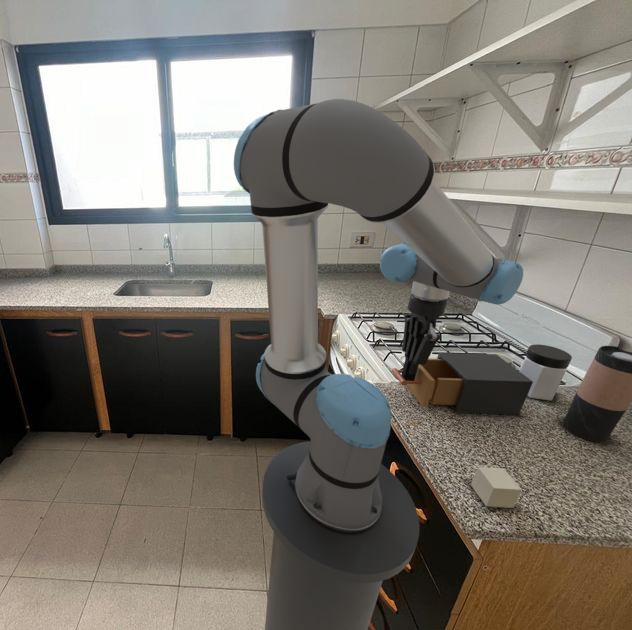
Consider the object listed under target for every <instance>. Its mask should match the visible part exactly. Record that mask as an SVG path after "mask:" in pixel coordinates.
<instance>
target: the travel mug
mask: <svg viewBox="0 0 632 630" xmlns="http://www.w3.org/2000/svg"><path fill="white" fill-rule="evenodd" d="M631 403H632V351H627V350H624V349H622V348H620V347H619V346H615V345H602V346H600V347H599V348H598V349H597V351H596V354H595V355H594V357H593V359H592V360H591V363H590V365H589V367H588V369H587V371H586V373H585V375H584V377H583V378H582V380H581V382H580V384H579V386H578V388H577V390H576V391H575V394H574V396H573V399H572V401H571V404H570V406H569V407H568V410H567V412H566V414H565V417H564V418H563V422H562V424H563V427H564V428H565V429H566V430H567V431H568V432H570V433H572V434H573V435H575V436H577V437H579V438H582V439H584V440H587V441H591V442H596V443H603V442H605V441H607V440H608V439H609V437H610V436H611V434H612V433H613V431H614V429H616V427H617V425H618V424H619V422H620V420H621V419H622V417H623V416H624V414H625V413H626V412H627V410H628V409H629V407H630V405H631Z"/></svg>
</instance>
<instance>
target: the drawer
mask: <svg viewBox="0 0 632 630" xmlns="http://www.w3.org/2000/svg"><path fill="white" fill-rule="evenodd" d="M402 371H403V369H397V368H396V367H393V368H392V369H391V372H392V374H393V375H394V377H395V378H396V379H397V381H398V382H399V384H400V385H401V386H403V387H404V386H406V387H407V388H408V390H409V391H410V392H411V393H412V395H413V396H414V398H415V399H416V400H417V402H418V403H419V404H420V405H421V407H428V405H429V403H430V404H431V405H441V406H443V405H444V406H450V405H456V403H457V400H458V397H459V394H460V391H461V388H462V385H463V382H464V380H463V379H462V378H461V377H460V376H459V375H458V374H457V373H456V372H455V371H454V370H453V369H452V368H451V367H450V366H449V365H448V364H447V363H446V362H445V361H443V360H442V359H437V358H428V360H427V362H426V364H425V365H419V366H418V369H417V373H416V376H415V380H414V381H406V380H405V379H404V378H403V376H402Z"/></svg>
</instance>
